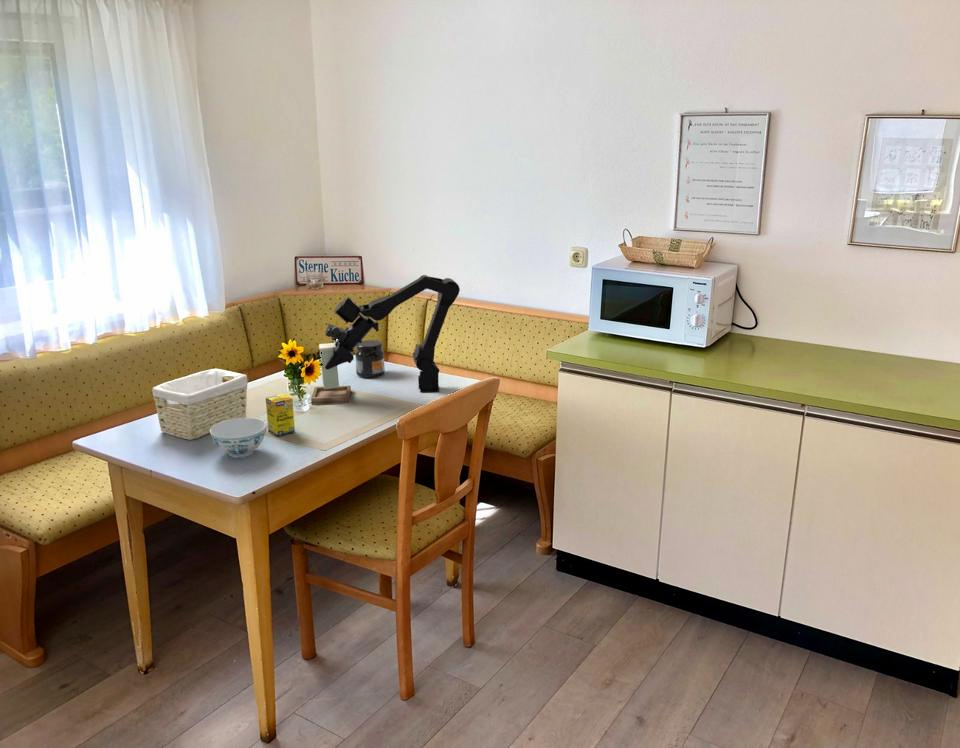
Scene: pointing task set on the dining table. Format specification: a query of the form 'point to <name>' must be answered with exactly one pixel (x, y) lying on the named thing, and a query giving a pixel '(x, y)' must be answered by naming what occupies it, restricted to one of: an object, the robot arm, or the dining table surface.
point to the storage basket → (200, 402)
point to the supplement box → (280, 414)
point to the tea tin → (331, 374)
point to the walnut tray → (331, 395)
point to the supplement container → (370, 359)
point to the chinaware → (238, 435)
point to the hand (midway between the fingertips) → (325, 366)
